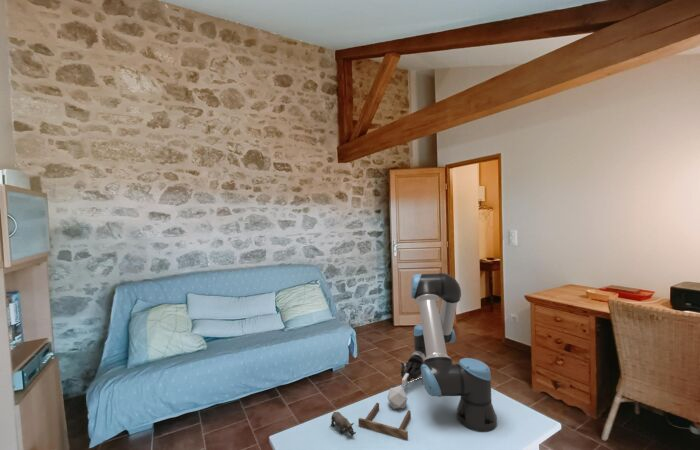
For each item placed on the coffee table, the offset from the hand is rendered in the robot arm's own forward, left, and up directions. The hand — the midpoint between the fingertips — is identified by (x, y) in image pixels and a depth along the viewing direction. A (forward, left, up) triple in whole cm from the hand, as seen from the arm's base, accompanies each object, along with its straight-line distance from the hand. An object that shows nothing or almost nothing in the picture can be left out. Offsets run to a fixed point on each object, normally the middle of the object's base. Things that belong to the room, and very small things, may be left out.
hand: (403, 382), depth 148 cm
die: (0, +9, -6) cm, 11 cm away
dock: (0, +22, -6) cm, 23 cm away
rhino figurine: (+14, +34, -6) cm, 37 cm away
